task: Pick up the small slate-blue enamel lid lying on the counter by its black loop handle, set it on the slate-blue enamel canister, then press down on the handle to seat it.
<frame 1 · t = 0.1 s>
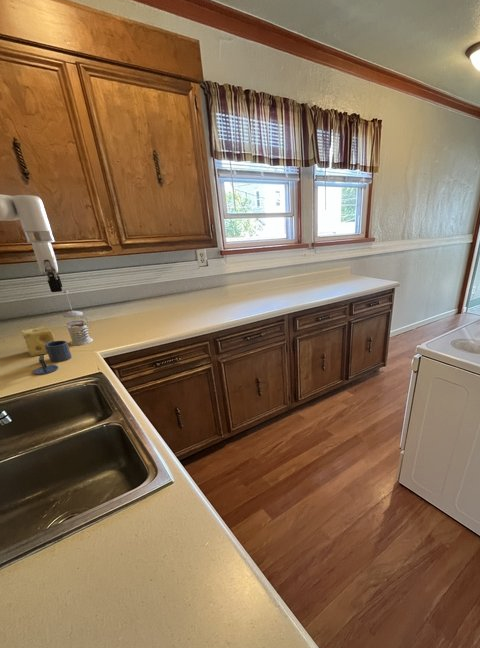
hand: (57, 289, 117), 32 cm above the worktop, tool pointing down, fingers open, 9 cm apart
pot: (61, 360, 141), on the worktop
lid: (46, 370, 130), point 1 cm above the worktop
cheese: (43, 351, 150), on the worktop
french press: (83, 341, 162), on the worktop
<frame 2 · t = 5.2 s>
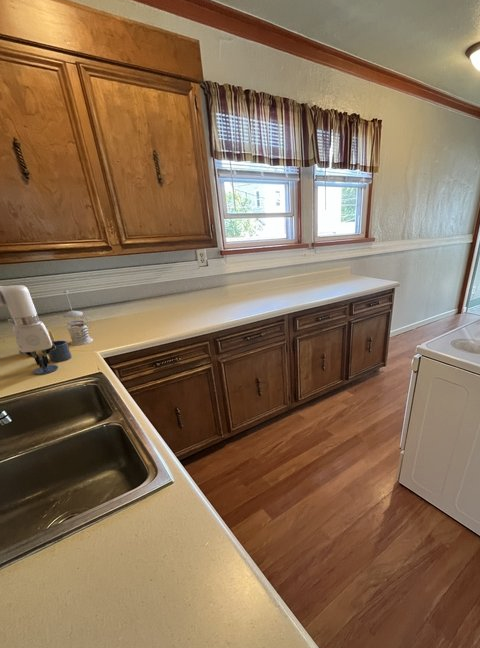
hand: (44, 365, 129), 3 cm above the worktop, tool pointing down, fingers closed on lid
lid: (46, 370, 130), point 1 cm above the worktop, touching gripper
everything else where it was.
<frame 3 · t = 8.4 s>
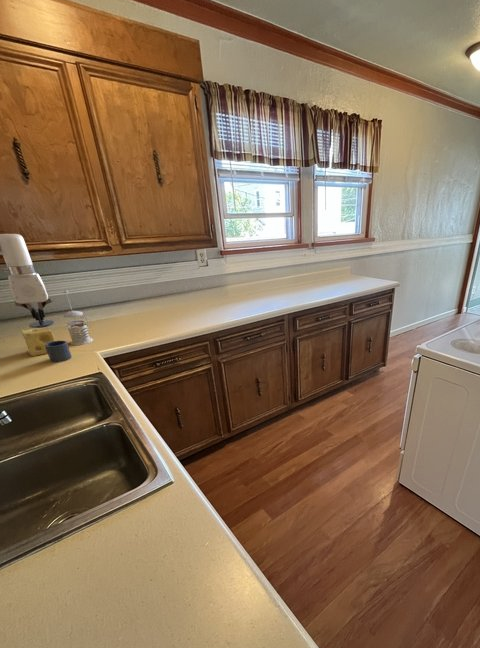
hand: (40, 319, 128), 19 cm above the worktop, tool pointing down, fingers closed on lid
lid: (42, 324, 129), point 17 cm above the worktop, touching gripper
everything else where it was.
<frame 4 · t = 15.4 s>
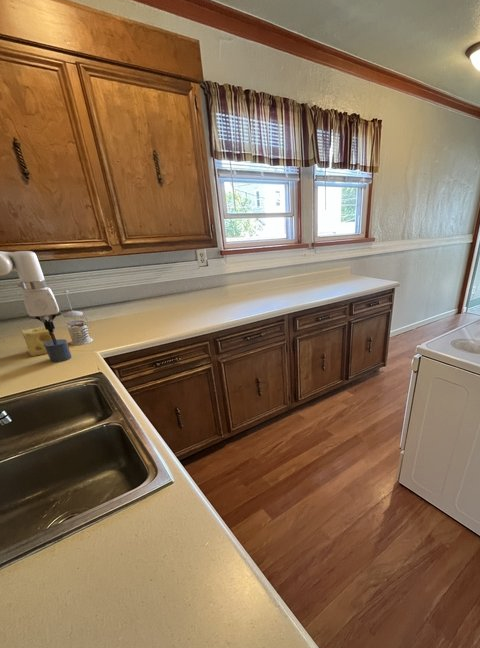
hand: (51, 330, 135), 13 cm above the worktop, tool pointing down, fingers closed
lid: (55, 343, 137), point 7 cm above the worktop, touching gripper, pot
everything else where it was.
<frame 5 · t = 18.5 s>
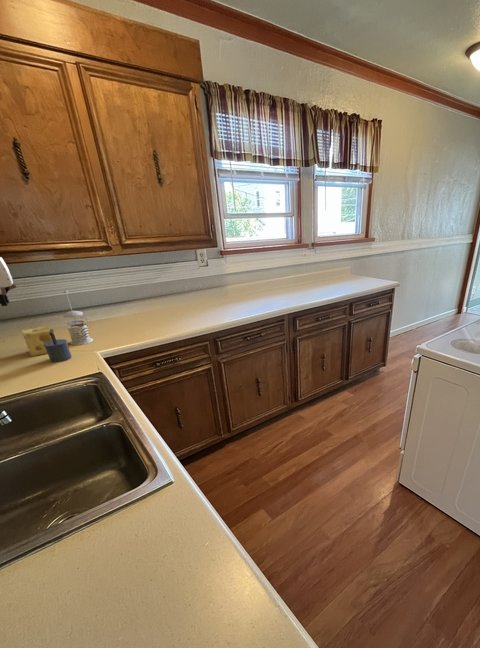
hand: (5, 305, 124), 25 cm above the worktop, tool pointing down, fingers closed
lid: (55, 343, 137), point 7 cm above the worktop, touching pot
everything else where it was.
at the end: lid 0.0 cm off-centre on the pot, point 7.5 cm above the pot's base; lid tilted 0°; the gripper is holding nothing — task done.
